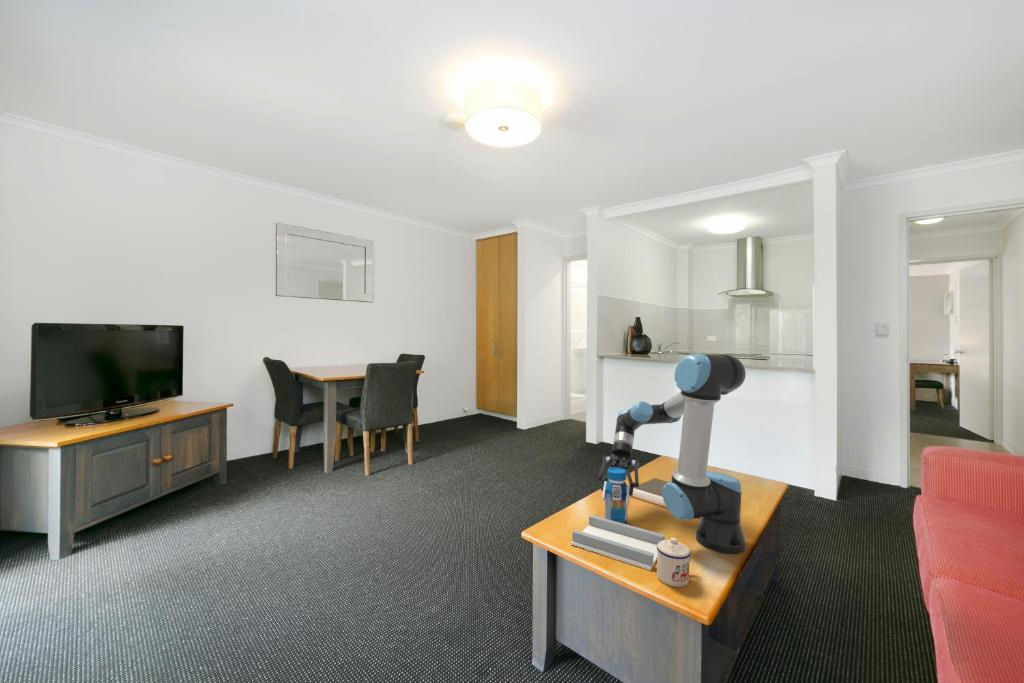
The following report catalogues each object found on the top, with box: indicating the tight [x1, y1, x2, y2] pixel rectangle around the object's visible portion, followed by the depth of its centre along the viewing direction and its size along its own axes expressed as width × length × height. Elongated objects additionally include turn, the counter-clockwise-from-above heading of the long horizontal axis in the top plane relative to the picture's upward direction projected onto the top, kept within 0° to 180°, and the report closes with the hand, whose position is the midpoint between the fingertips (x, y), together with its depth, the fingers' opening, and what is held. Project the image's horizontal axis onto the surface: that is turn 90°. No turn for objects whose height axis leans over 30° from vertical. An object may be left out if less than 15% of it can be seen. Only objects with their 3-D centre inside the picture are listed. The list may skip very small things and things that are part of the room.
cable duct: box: [570, 514, 666, 572], centre depth 139 cm, size 26×18×4 cm
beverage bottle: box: [604, 467, 629, 525], centre depth 155 cm, size 8×8×20 cm
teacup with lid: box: [656, 537, 692, 588], centre depth 121 cm, size 12×9×12 cm
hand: (615, 501), depth 152 cm, fingers closed on beverage bottle, 8 cm apart
